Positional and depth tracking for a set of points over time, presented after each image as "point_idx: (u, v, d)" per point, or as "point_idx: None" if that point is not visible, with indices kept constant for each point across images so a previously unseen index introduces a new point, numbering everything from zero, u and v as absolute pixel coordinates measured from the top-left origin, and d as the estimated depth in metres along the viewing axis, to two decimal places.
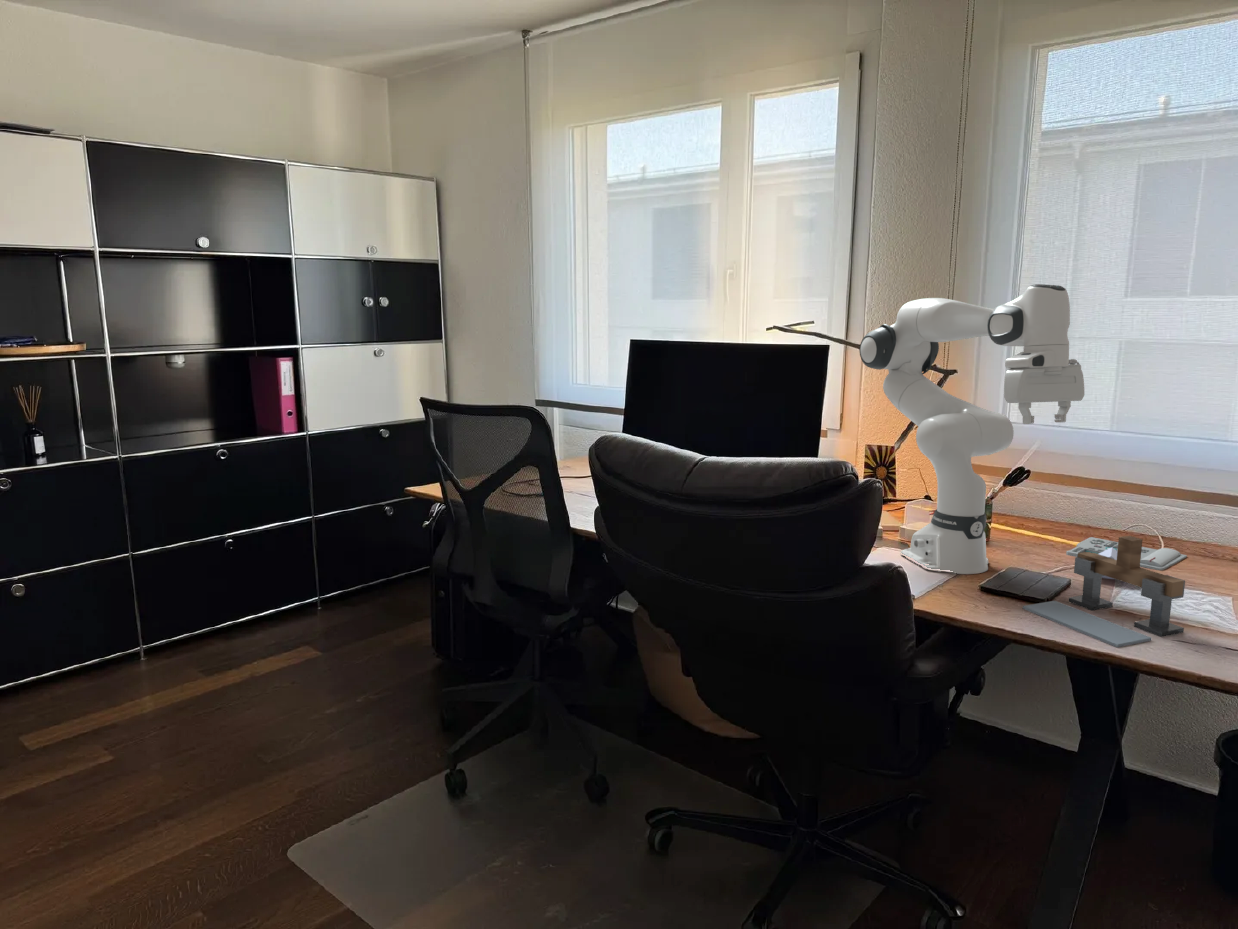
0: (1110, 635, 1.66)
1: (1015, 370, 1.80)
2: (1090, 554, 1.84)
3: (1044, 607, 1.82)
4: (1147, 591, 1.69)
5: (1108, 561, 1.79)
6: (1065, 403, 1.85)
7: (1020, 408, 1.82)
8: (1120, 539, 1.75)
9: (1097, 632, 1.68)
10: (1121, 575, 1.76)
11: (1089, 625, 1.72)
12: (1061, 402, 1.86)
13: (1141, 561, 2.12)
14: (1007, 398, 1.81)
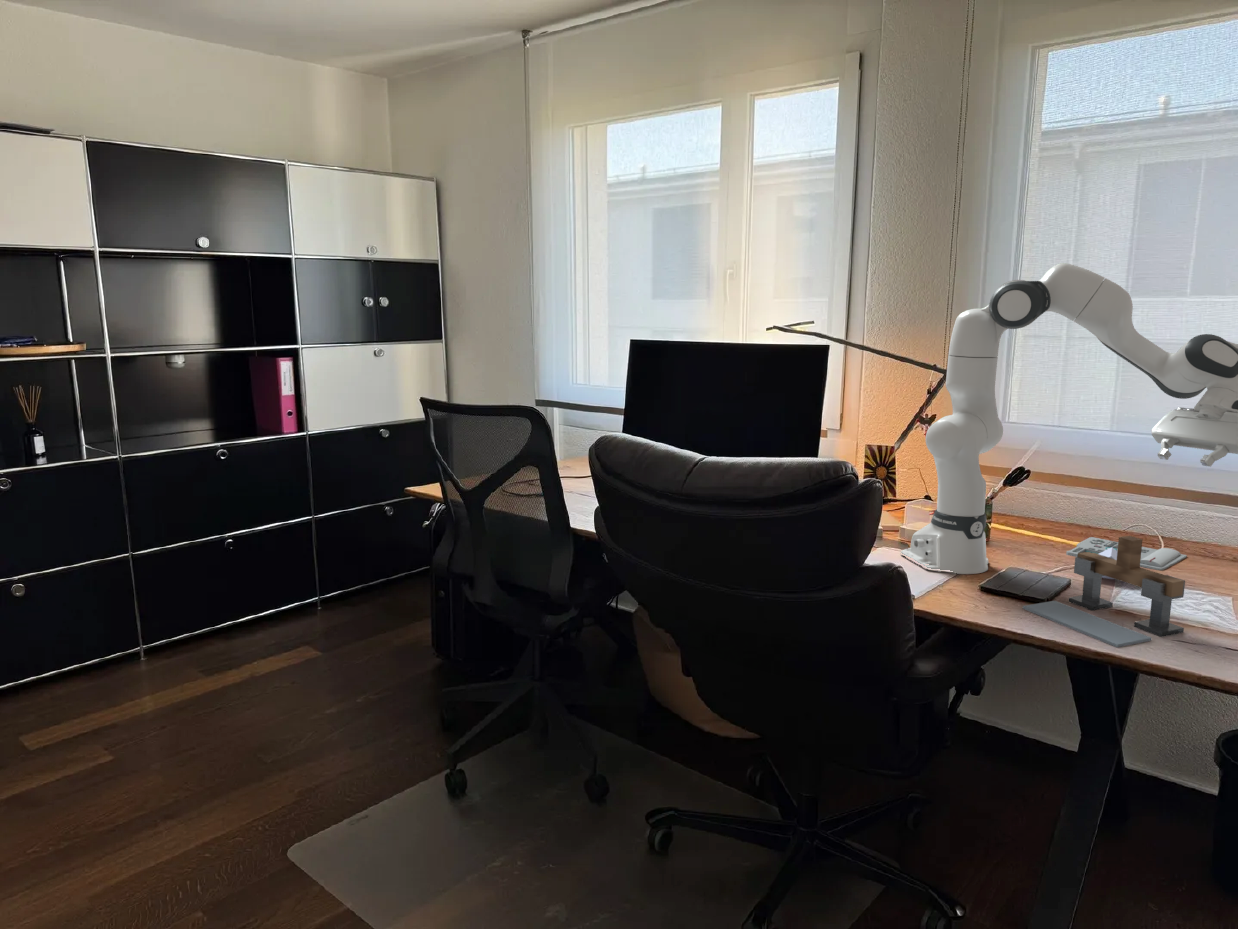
0: (1110, 635, 1.66)
1: None
2: (1090, 554, 1.84)
3: (1044, 607, 1.82)
4: (1147, 591, 1.69)
5: (1108, 561, 1.79)
6: (1172, 445, 1.83)
7: (1221, 451, 1.72)
8: (1120, 539, 1.75)
9: (1097, 632, 1.68)
10: (1121, 575, 1.76)
11: (1089, 625, 1.72)
12: (1171, 441, 1.83)
13: (1141, 561, 2.12)
14: None
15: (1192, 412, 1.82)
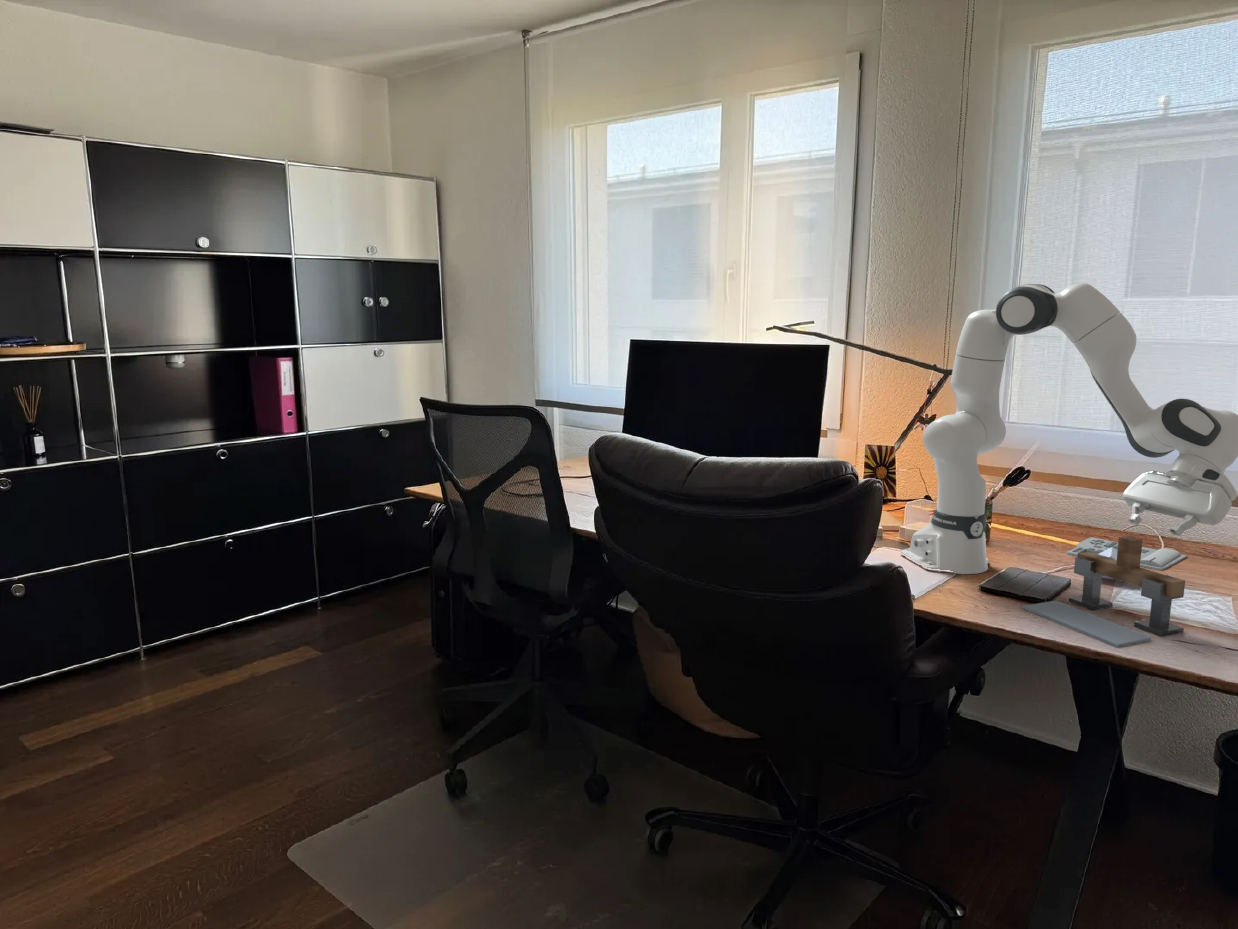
0: (1110, 635, 1.66)
1: (1226, 494, 1.70)
2: (1090, 554, 1.84)
3: (1044, 607, 1.82)
4: (1147, 591, 1.69)
5: (1108, 561, 1.79)
6: (1143, 510, 1.82)
7: (1191, 521, 1.71)
8: (1120, 539, 1.75)
9: (1097, 632, 1.68)
10: (1121, 575, 1.76)
11: (1089, 625, 1.72)
12: (1142, 506, 1.82)
13: (1141, 561, 2.12)
14: (1215, 515, 1.68)
15: (1163, 477, 1.81)
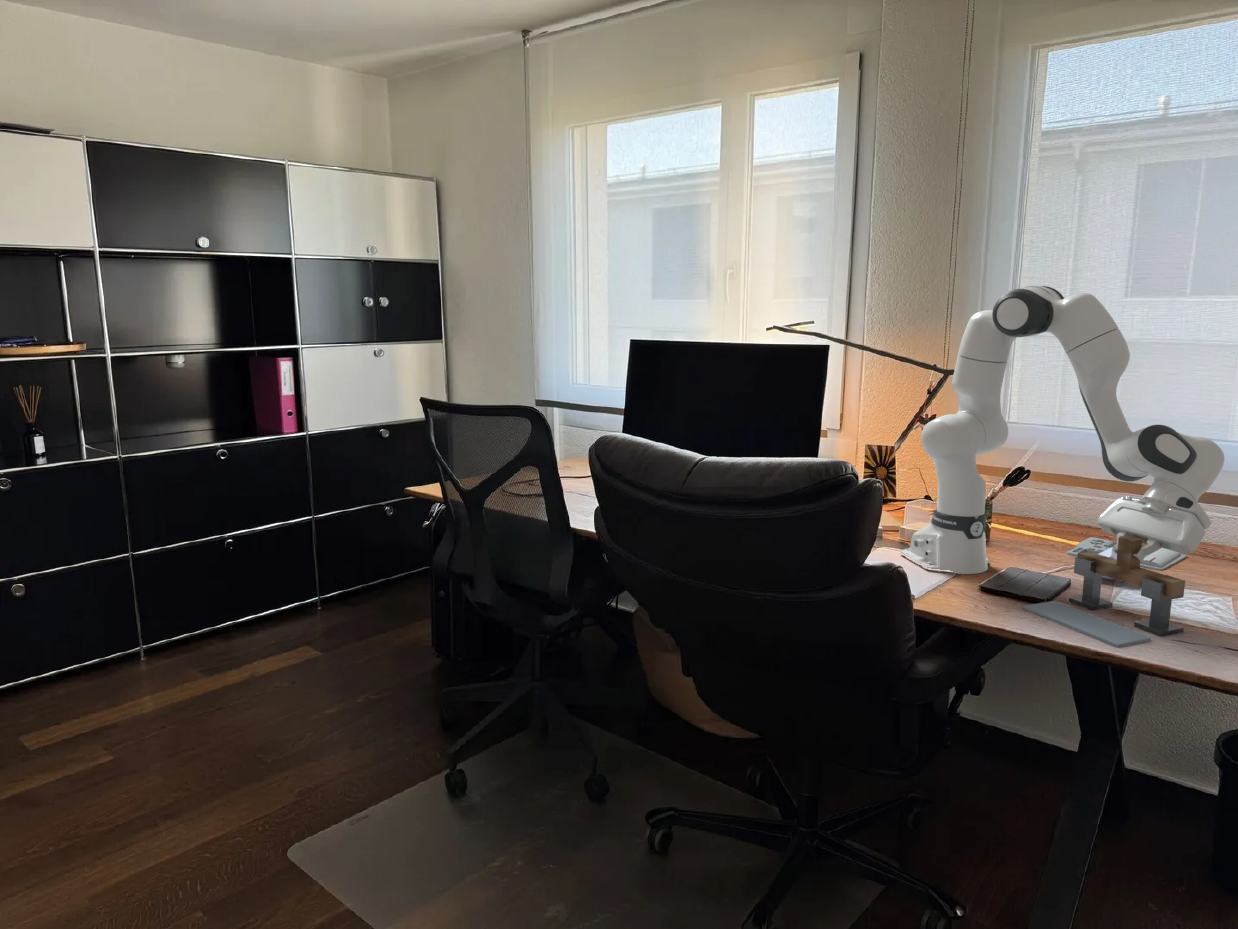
0: (1110, 635, 1.66)
1: (1200, 523, 1.68)
2: (1090, 554, 1.84)
3: (1044, 607, 1.82)
4: (1147, 591, 1.69)
5: (1108, 561, 1.79)
6: None
7: (1152, 546, 1.72)
8: (1120, 539, 1.75)
9: (1097, 632, 1.68)
10: (1121, 575, 1.76)
11: (1089, 625, 1.72)
12: (1127, 535, 1.78)
13: (1141, 561, 2.12)
14: (1188, 544, 1.66)
15: (1138, 504, 1.79)
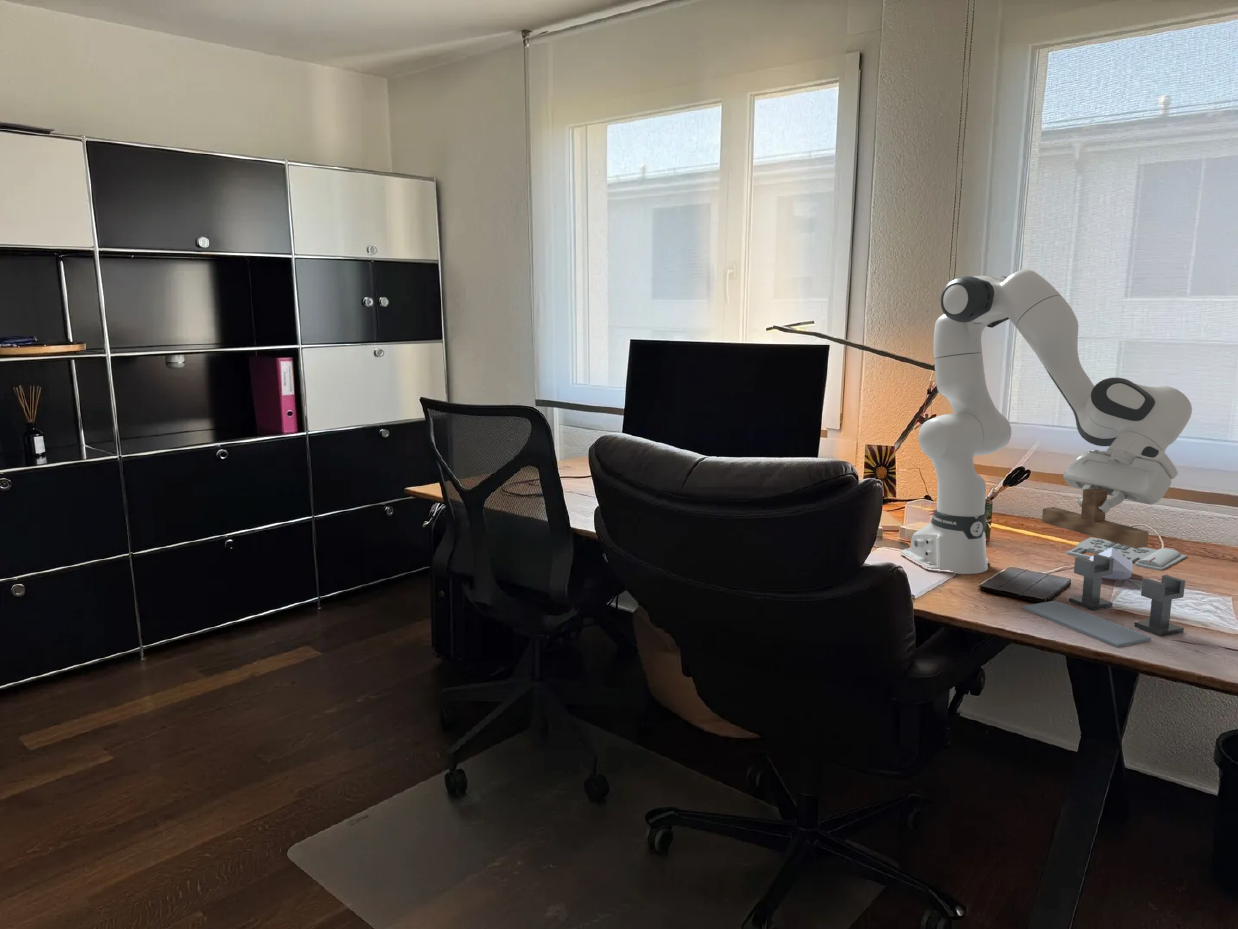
0: (1110, 635, 1.66)
1: (1165, 472, 1.63)
2: (1055, 509, 1.79)
3: (1044, 607, 1.82)
4: (1147, 591, 1.69)
5: (1073, 515, 1.74)
6: None
7: (1117, 497, 1.66)
8: (1084, 491, 1.70)
9: (1097, 632, 1.68)
10: (1086, 528, 1.70)
11: (1089, 625, 1.72)
12: None
13: (1141, 561, 2.12)
14: (1153, 494, 1.61)
15: (1104, 456, 1.74)
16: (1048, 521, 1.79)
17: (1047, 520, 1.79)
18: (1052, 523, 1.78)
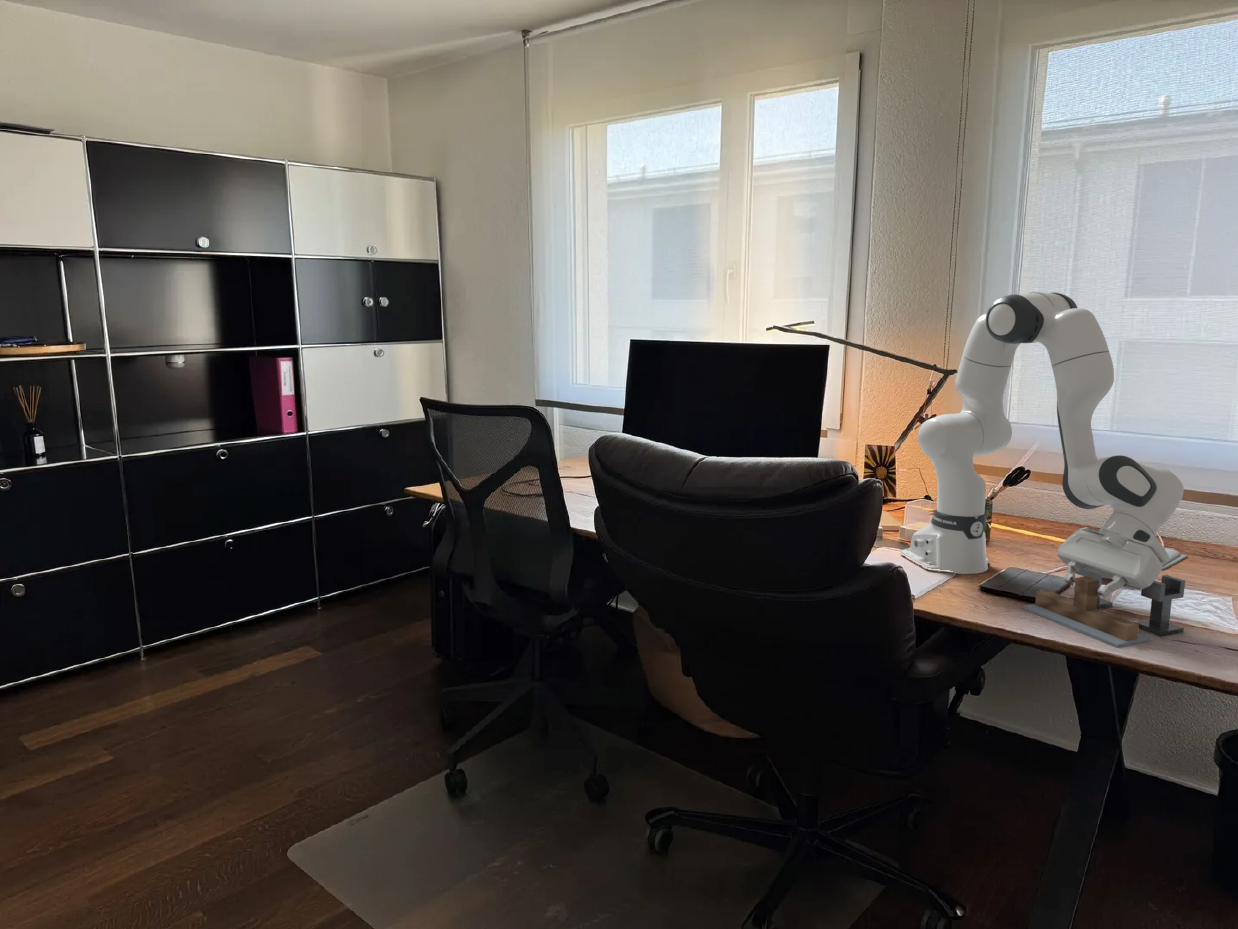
0: (1110, 635, 1.66)
1: (1157, 557, 1.66)
2: (1048, 593, 1.82)
3: None
4: (1147, 591, 1.69)
5: (1065, 601, 1.77)
6: (1078, 569, 1.78)
7: (1118, 582, 1.67)
8: (1077, 580, 1.73)
9: (1097, 632, 1.68)
10: (1078, 616, 1.73)
11: None
12: (1077, 565, 1.77)
13: None
14: (1144, 579, 1.64)
15: (1097, 535, 1.77)
16: (1041, 604, 1.82)
17: (1040, 604, 1.82)
18: (1045, 607, 1.81)
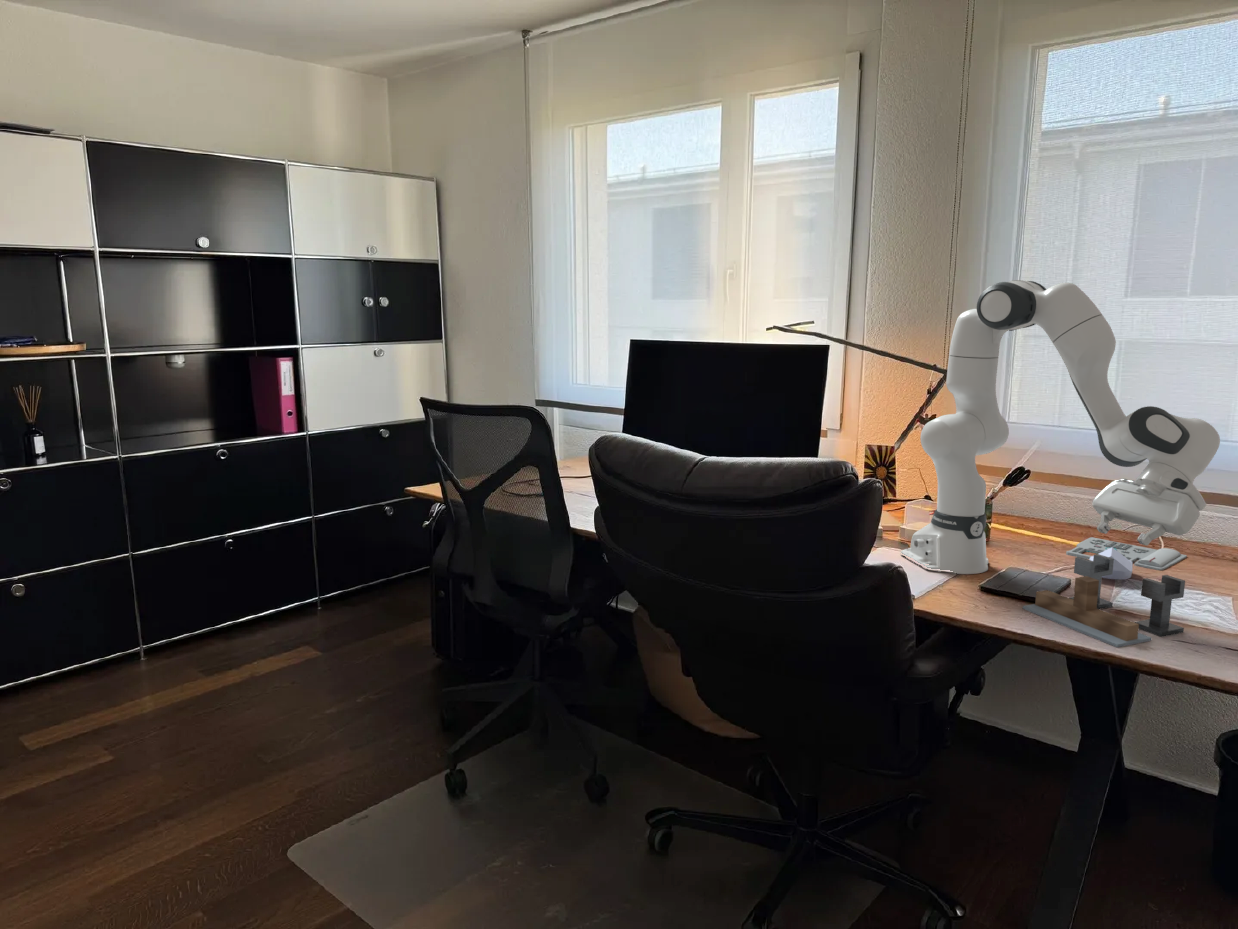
0: (1110, 635, 1.66)
1: (1194, 504, 1.67)
2: (1048, 593, 1.82)
3: None
4: (1147, 591, 1.69)
5: (1065, 601, 1.77)
6: (1112, 518, 1.80)
7: (1158, 530, 1.69)
8: (1077, 580, 1.73)
9: (1097, 632, 1.68)
10: (1078, 616, 1.73)
11: None
12: (1111, 514, 1.79)
13: (1141, 561, 2.12)
14: (1182, 525, 1.65)
15: (1133, 486, 1.78)
16: (1041, 604, 1.82)
17: (1040, 604, 1.82)
18: (1045, 607, 1.81)
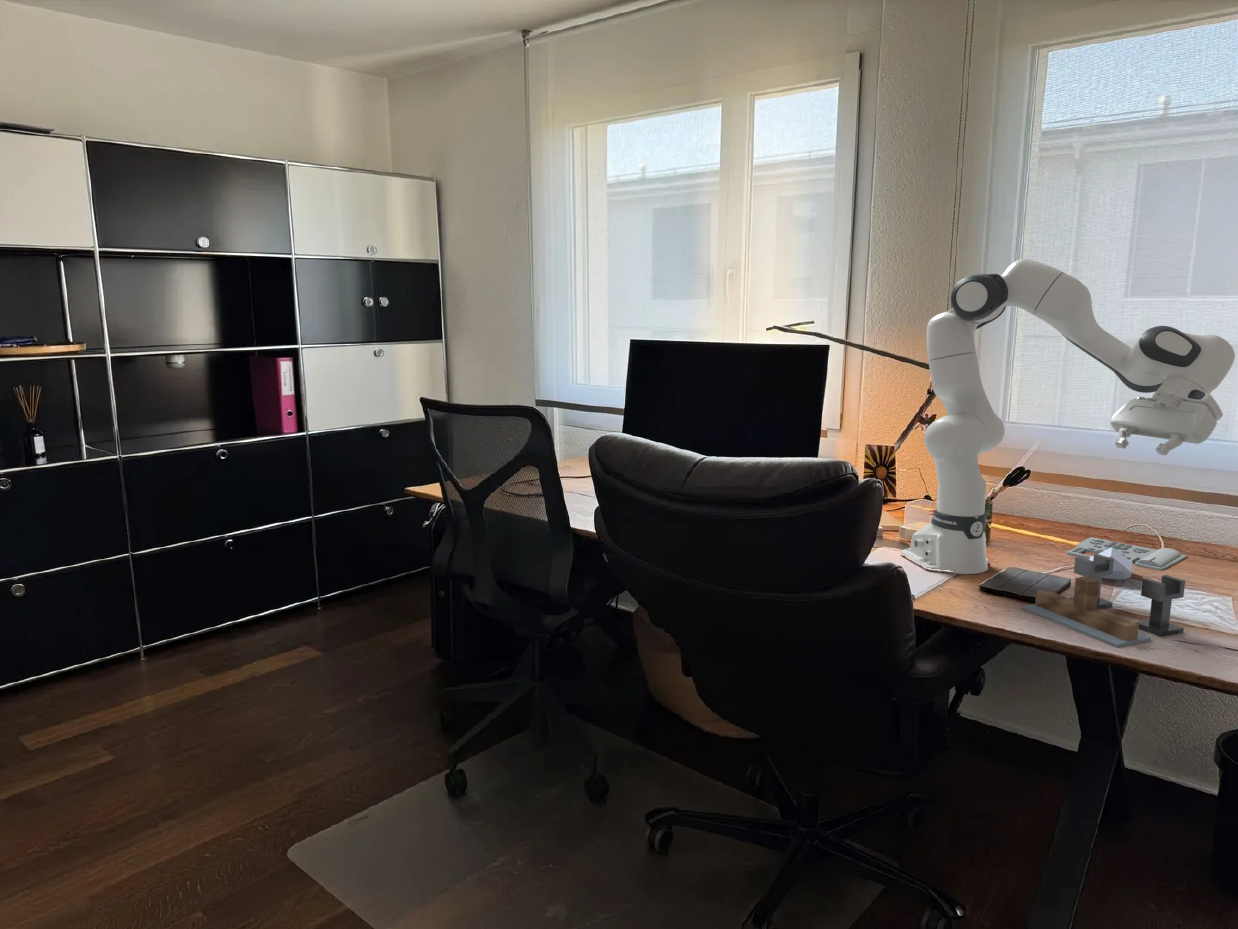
0: (1110, 635, 1.66)
1: (1211, 413, 1.72)
2: (1048, 593, 1.82)
3: None
4: (1147, 591, 1.69)
5: (1065, 601, 1.77)
6: (1130, 434, 1.84)
7: (1176, 440, 1.73)
8: (1077, 580, 1.73)
9: (1097, 632, 1.68)
10: (1078, 616, 1.73)
11: None
12: (1129, 430, 1.84)
13: (1141, 561, 2.12)
14: (1200, 433, 1.69)
15: (1150, 401, 1.83)
16: (1041, 604, 1.82)
17: (1040, 604, 1.82)
18: (1045, 607, 1.81)
